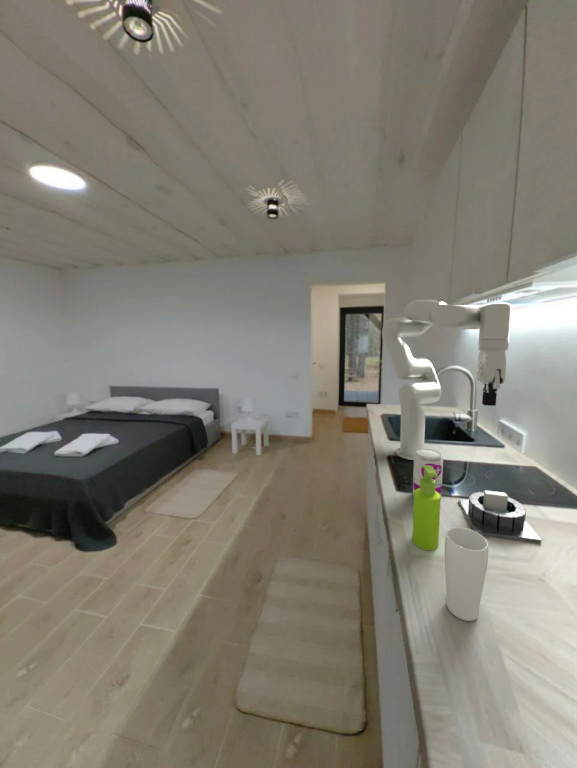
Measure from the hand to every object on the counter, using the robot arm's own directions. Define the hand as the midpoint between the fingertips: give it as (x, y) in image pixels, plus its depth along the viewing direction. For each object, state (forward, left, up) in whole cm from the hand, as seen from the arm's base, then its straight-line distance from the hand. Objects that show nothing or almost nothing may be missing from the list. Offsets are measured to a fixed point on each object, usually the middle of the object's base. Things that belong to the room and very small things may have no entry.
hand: (488, 404), depth 93 cm
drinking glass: (+48, -19, -29) cm, 59 cm away
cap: (+16, -2, -28) cm, 32 cm away
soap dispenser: (+30, -22, -29) cm, 47 cm away
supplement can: (+7, -18, -29) cm, 35 cm away
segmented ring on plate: (+16, -2, -29) cm, 33 cm away
